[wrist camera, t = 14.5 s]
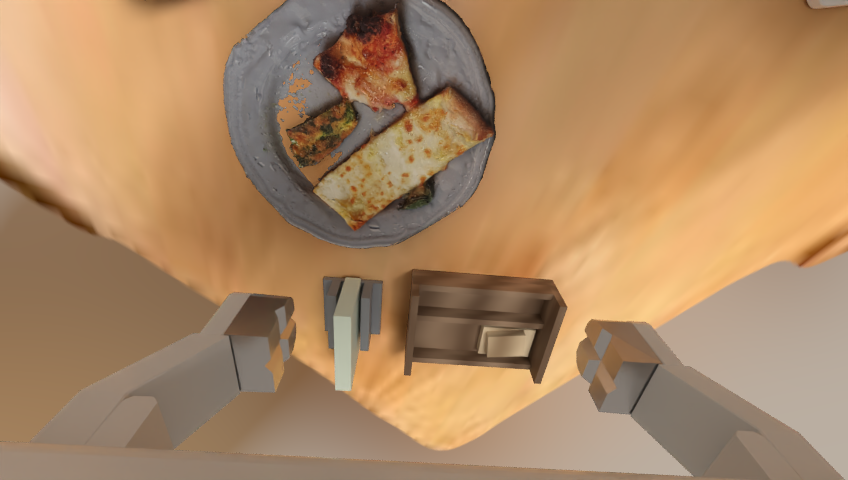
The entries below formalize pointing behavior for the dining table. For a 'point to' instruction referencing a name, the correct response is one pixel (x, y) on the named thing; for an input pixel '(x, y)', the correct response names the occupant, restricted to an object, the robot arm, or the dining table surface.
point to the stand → (368, 312)
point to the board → (347, 333)
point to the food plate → (363, 115)
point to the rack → (479, 318)
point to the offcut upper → (505, 343)
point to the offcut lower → (484, 328)
